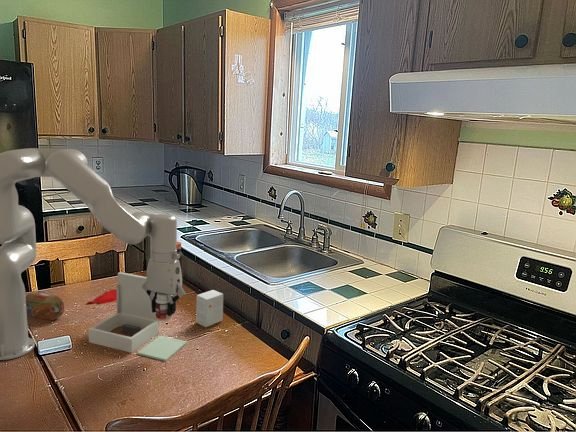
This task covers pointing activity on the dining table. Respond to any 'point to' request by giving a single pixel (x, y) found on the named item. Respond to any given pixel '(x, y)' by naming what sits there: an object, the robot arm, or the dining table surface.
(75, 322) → the dining table surface
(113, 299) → the cloth
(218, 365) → the dining table surface
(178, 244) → the vinegar
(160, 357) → the mat
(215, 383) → the dining table surface
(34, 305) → the tin
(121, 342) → the equipment case
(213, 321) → the small box
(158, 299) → the pill bottle
